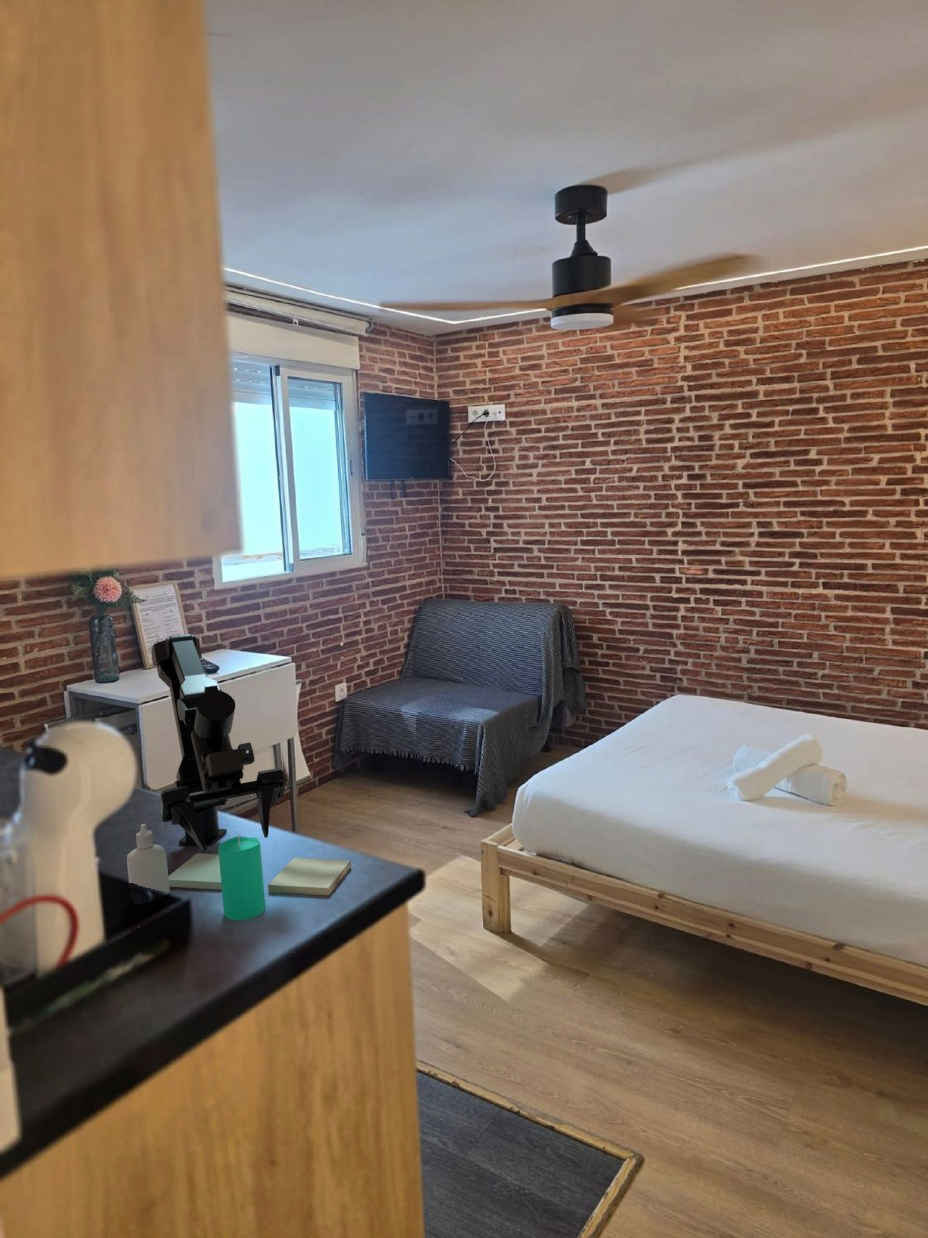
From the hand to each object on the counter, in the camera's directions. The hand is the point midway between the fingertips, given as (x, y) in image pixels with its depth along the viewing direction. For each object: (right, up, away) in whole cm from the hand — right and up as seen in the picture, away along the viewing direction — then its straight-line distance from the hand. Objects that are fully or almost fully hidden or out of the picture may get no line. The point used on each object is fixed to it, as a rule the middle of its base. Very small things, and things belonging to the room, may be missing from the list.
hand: (236, 843), depth 123 cm
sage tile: (-8, -9, +13) cm, 17 cm away
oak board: (+10, -8, +9) cm, 15 cm away
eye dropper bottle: (-15, -10, +5) cm, 19 cm away
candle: (+1, -10, -1) cm, 10 cm away
